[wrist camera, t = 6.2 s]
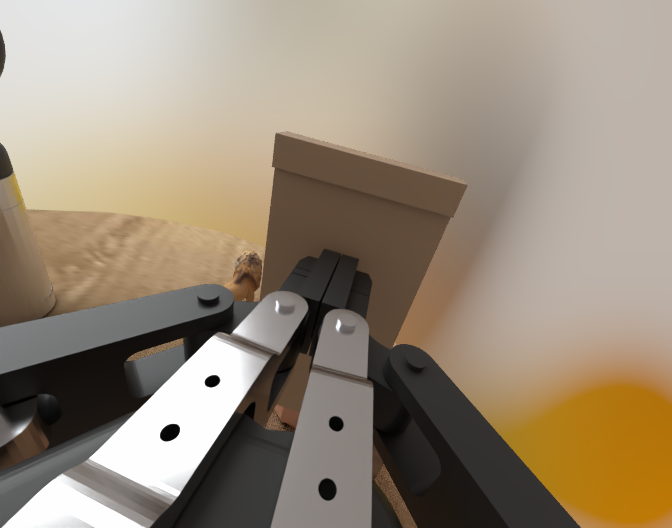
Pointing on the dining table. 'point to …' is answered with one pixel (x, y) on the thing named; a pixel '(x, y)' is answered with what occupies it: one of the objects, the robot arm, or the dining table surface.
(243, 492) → the robot arm
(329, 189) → the tipping tray
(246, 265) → the lion figurine
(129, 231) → the dining table surface
